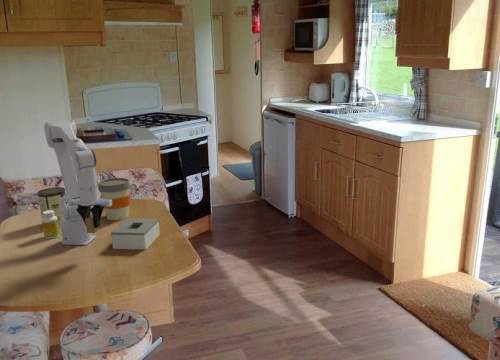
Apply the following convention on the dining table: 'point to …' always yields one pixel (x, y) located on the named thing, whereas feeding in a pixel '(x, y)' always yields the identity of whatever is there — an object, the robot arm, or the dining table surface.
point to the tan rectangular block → (91, 224)
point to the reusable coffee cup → (116, 197)
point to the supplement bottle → (50, 225)
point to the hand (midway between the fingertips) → (93, 226)
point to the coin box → (135, 234)
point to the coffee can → (51, 201)
